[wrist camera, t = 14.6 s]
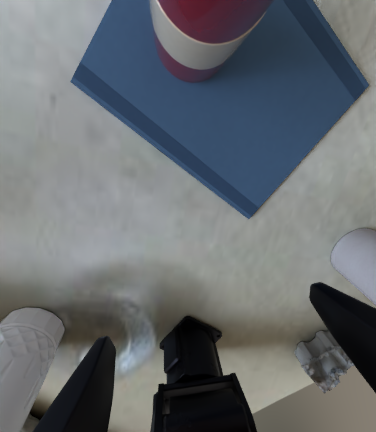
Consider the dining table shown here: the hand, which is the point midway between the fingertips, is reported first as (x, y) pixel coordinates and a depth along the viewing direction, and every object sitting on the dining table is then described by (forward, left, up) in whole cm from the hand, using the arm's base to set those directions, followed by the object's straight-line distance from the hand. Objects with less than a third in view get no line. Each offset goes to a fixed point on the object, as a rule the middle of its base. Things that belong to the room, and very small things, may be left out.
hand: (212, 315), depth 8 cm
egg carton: (-32, +4, -13) cm, 35 cm away
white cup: (+6, +22, -13) cm, 27 cm away
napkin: (+4, -12, -13) cm, 18 cm away
